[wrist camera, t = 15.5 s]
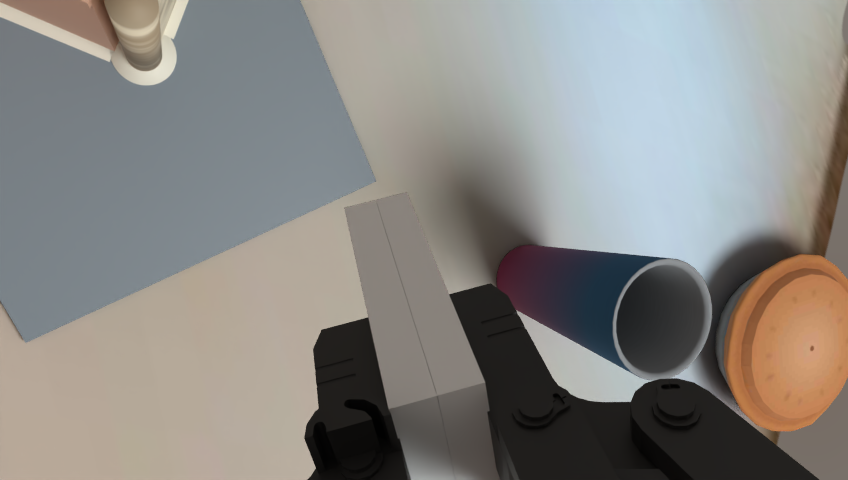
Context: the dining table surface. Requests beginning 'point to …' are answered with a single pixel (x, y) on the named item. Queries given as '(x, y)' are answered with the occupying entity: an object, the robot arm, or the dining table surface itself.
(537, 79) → the dining table surface
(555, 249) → the cup
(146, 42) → the fixed fence section
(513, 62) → the dining table surface
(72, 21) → the pink wooden flat board
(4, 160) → the card
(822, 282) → the pie
